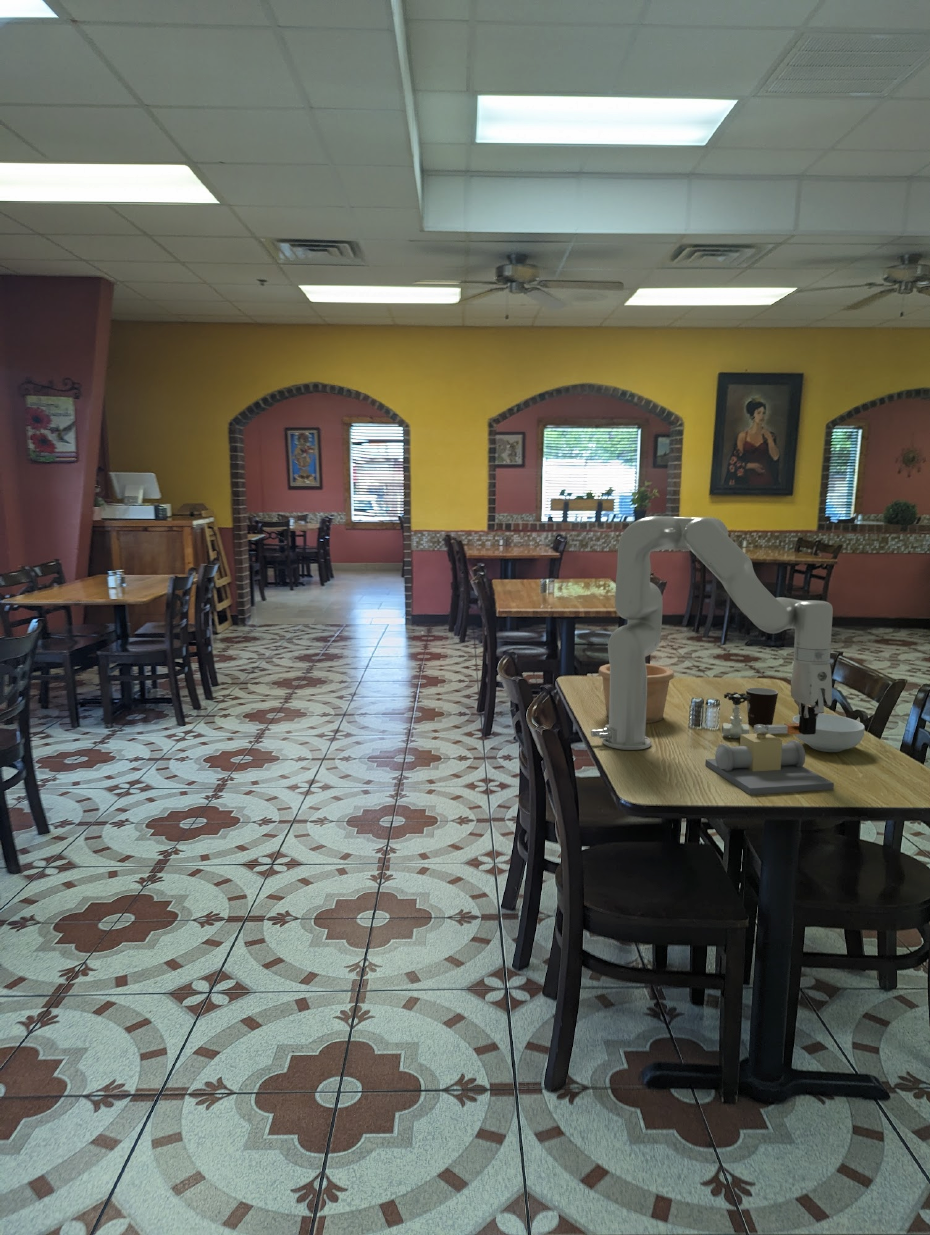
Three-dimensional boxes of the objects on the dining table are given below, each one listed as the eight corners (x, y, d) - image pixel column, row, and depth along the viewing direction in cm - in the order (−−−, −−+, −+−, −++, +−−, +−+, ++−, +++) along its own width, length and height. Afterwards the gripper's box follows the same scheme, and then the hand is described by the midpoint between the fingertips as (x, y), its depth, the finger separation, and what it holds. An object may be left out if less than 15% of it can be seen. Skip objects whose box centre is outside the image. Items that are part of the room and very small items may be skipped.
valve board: (749, 794, 165) (752, 753, 164) (705, 765, 185) (706, 727, 183) (833, 789, 169) (836, 748, 167) (780, 760, 188) (783, 724, 187)
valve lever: (758, 735, 177) (758, 727, 176) (752, 732, 180) (752, 723, 179) (814, 734, 178) (814, 725, 178) (807, 730, 181) (807, 722, 181)
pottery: (594, 706, 241) (596, 661, 240) (666, 708, 239) (667, 663, 238) (600, 725, 220) (601, 676, 218) (678, 727, 218) (680, 677, 216)
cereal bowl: (792, 753, 194) (794, 726, 193) (789, 736, 210) (790, 710, 209) (867, 761, 188) (869, 733, 188) (858, 742, 204) (860, 716, 203)
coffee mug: (773, 730, 215) (775, 695, 213) (741, 726, 219) (743, 692, 218) (780, 721, 224) (782, 688, 223) (750, 717, 229) (751, 684, 228)
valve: (749, 742, 204) (752, 698, 202) (723, 740, 205) (725, 697, 203) (745, 735, 210) (748, 692, 208) (720, 734, 211) (722, 691, 210)
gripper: (846, 660, 167) (841, 742, 169) (809, 649, 182) (805, 724, 184) (813, 661, 166) (808, 743, 169) (779, 649, 181) (775, 725, 183)
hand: (807, 733), depth 176 cm, fingers closed
